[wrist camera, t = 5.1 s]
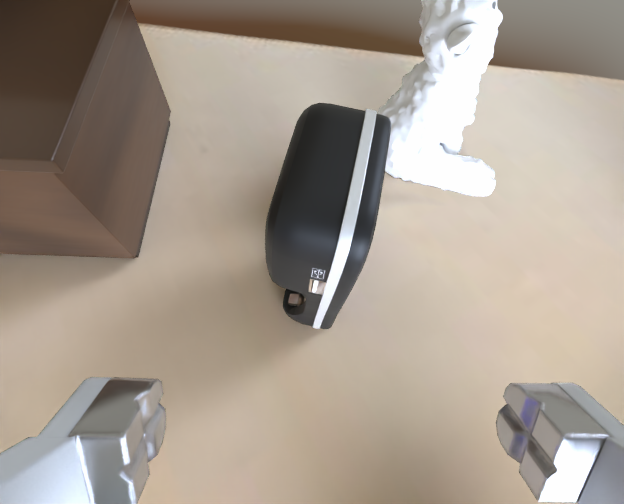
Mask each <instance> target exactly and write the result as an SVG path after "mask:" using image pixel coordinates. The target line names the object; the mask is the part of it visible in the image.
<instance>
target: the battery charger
mask: <svg viewBox="0 0 624 504" xmlns="http://www.w3.org/2000/svg"><path fill="white" fill-rule="evenodd" d="M390 134H391V121H390V119H389V118H388V117H387V116H384V115H381V114H377V111H375V110H370V109H366V110H365V111H362V110H357V109H353V108H348V107H343V106H339V105H334V104H327V103H318V104H314V105H311V106H310V107H308V108H307V109H306V110H304V111H303V113H302V114H301V116H300V118H299V119H298V121H297V124H296V126H295V129H294V133H293V136H292V139H291V142H290V145H289V148H288V151H287V154H286V157H285V160H284V163H283V166H282V169H281V173H280V176H279V179H278V182H277V185H276V188H275V192H274V195H273V198H272V201H271V204H270V208H269V212H268V216H267V221H266V233H265V250H266V263H267V267H268V270H269V275H270V277H271V279H272V281H273V282H275V283H276V284H277V285H279V286H280V287H283V288H286V291H285V295H284V301H283V307H284V310H285V312H286V314H287V315H288V316H289V317H291V318H292V319H293V320H295V321H298V322H300V323H302V324H305V325H310V326H313V327H312V328H316V329H320V328H322V329H329V328H330V327H331V326H332V324H333V322H334V320H335V318H336V316H337V314H338V312H339V311H340V309H341V308H342V306H343V304H344V302H345V301H346V299H347V297H348V295H349V294H350V292H351V290H352V288H353V286H354V284H355V282H356V280H357V278H358V276H359V274H360V272H361V270H362V268H363V266H364V263H365V261H366V258H367V255H368V252H369V249H370V246H371V242H372V239H373V235H374V230H375V226H376V220H377V215H378V209H379V203H380V197H381V191H382V185H383V179H384V173H385V167H386V160H387V154H388V147H389V141H390Z"/></svg>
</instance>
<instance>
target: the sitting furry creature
mask: <svg viewBox="0 0 624 504" xmlns="http://www.w3.org/2000/svg"><path fill="white" fill-rule="evenodd" d="M421 4H422V6H423V9H422V13H421V16H420V20H419V23H420V25H421V27H422V33H421V36H420V40H419V43H420V45H421V46H422V48H423V53H424V57H425V60H424V61H422V62H421V63H420V64H416V65H415V66H414V68H413V69H412V71H411V72H410V73H408V74H406V75H404V76H403V78H402V86H401V88H399V90H398V91H397V92H396V93H395V94H394V95H392V96H391V98H390V99H388V101H387V102H386V104H385V105H383V106H382V107H380V108H379V111H378V113H377V114H381V115H384V116H387V117H388V118H389V119H390V121H391V134H390V141H389V147H388V154H387V160H386V167H385V172H387V173H389V174H390V175H392V177H394V178H398V177H399V178H402V180H404V181H408V180H410V181H412V182H413V183H420V184H422V185H430V186H434V187H438V188H440V189H442V190H450V191H454V192H458V193H461V194H464V195H470V196H488V195H490V194H491V193H492V191H493V190H494V188H495V184H496V181H495V180H494V179H493V178H494V175H495V172H494V170H493V169H492V168H491V167H489V166H488V165H487V164H485V163H484V162H483V161H482V160H481V159H475V158H474V157H472V156H461V155H458V152H460V150H461V143H462V141H463V137H462V134H461V133H462V131H463V129H464V128H465V125H469V124H472V123H473V121H474V119H475V116H474V114H473V113H474V112H475V105H476V103H477V99H476V98H475V97H476V95H477V94H478V92H479V81H480V80H481V74H482V73H484V72H485V71H486V68H487V65H488V63H489V61H490V59H491V58H492V57H493V53H494V44H495V41H496V37H497V34H498V30H497V28H498V26H499V25H500V23H501V21H502V19H503V15H502V13H501V12H500V11H499V10H498V9H497V8H498V7H497V0H421Z"/></svg>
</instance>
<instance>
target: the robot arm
mask: <svg viewBox="0 0 624 504" xmlns="http://www.w3.org/2000/svg"><path fill="white" fill-rule="evenodd" d="M162 396H163V387H162V381H160V380H159V379H147V378H119V377H114V378H108V377H90V378H88V379H86V380H84V381H83V382H82V383H81V384H80V386H79V387H78V388H77V389H76V390H75V392H74V393H73V394H72V395H71V396H70V398H69V399H68V400H67V401H66V402H65V404H64V405H63V406H62V407H61V408H60V410H59V411H58V412H57V413H56V414H55V416H54V417H53V418H52V419H51V420H50V422H49V423H48V424H47V425H46V426H45V428H44V429H43V430H42V431H41V432H40V434H39V435H38V436H37V437H28V438H26V439H24V440H23V441H21V442H19V443H18V444H16V445H14V446H12V447H11V448H9V449H7V450H5V451H4V452H2V453H0V504H137V503H138V500H139V498H140V496H141V493H142V491H143V489H144V486H145V484H146V481H147V479H148V477H149V474H150V473H149V465H148V462H150V461H151V460H152V459H153V458H154V457H156V456H157V455H158V453H159V450H160V448H161V445H162V443H163V438H164V434H165V429H166V411H165V408H164V407H163V406H162V405H161V404H160V403H159V402H160V400H161V398H162ZM503 397H504V399H505V401H506V403H507V404H506V405H505V406H504V407H503V408H502V409H501V410H500V411H499V412H498V416H497V420H496V427H497V435H498V437H499V440H500V443H501V445H502V446H503V448H504V450H505V451H506V453H507V454H508V455H509V456H510V457H512V458H513V459H515V460H516V461H517V462H519V463H520V466H519V473H520V475H521V476H522V478H523V479H524V481H525V482H526V484H527V485H528V487H529V488H530V490H531V492H532V493H533V495H534V496H535V498H536V499H537V501H538V502H565V503H578V504H624V425H622V424H621V423H620V422H619V421H618V420H617V419H616V418H615V417H614V416H613V415H611V414H610V413H609V412H608V411H607V410H606V409H605V408H604V407H603V406H602V405H600V404H599V403H598V402H597V401H596V400H595V399H594V398H593V397H592V396H591V395H589V394H588V393H587V392H586V391H585V390H584V389H583V388H582V387H581V386H579V385H576V384H574V383H510V384H509V385H508V386H507V387H506V389H505V392H504V395H503Z"/></svg>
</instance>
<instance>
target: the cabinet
mask: <svg viewBox="0 0 624 504" xmlns="http://www.w3.org/2000/svg"><path fill="white" fill-rule="evenodd" d="M129 1H130V0H0V254H30V255H60V256H90V257H120V258H135V257H138V256H139V252H140V248H141V243H142V239H143V235H144V231H145V227H146V222H147V218H148V214H149V210H150V206H151V202H152V197H153V193H154V189H155V185H156V181H157V177H158V172H159V168H160V164H161V160H162V156H163V151H164V147H165V143H166V139H167V135H168V131H169V126H170V121H169V116H170V112H171V111H170V108H169V105H168V103H167V100H166V98H165V95H164V92H163V90H162V87H161V84H160V82H159V79H158V76H157V74H156V71H155V69H154V66H153V63H152V61H151V58H150V55H149V53H148V50H147V47H146V45H145V42H144V40H143V37H142V34H141V32H140V29H139V26H138V24H137V21H136V18H135V16H134V13H133V11H132V8H131V5H130V3H129Z"/></svg>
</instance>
